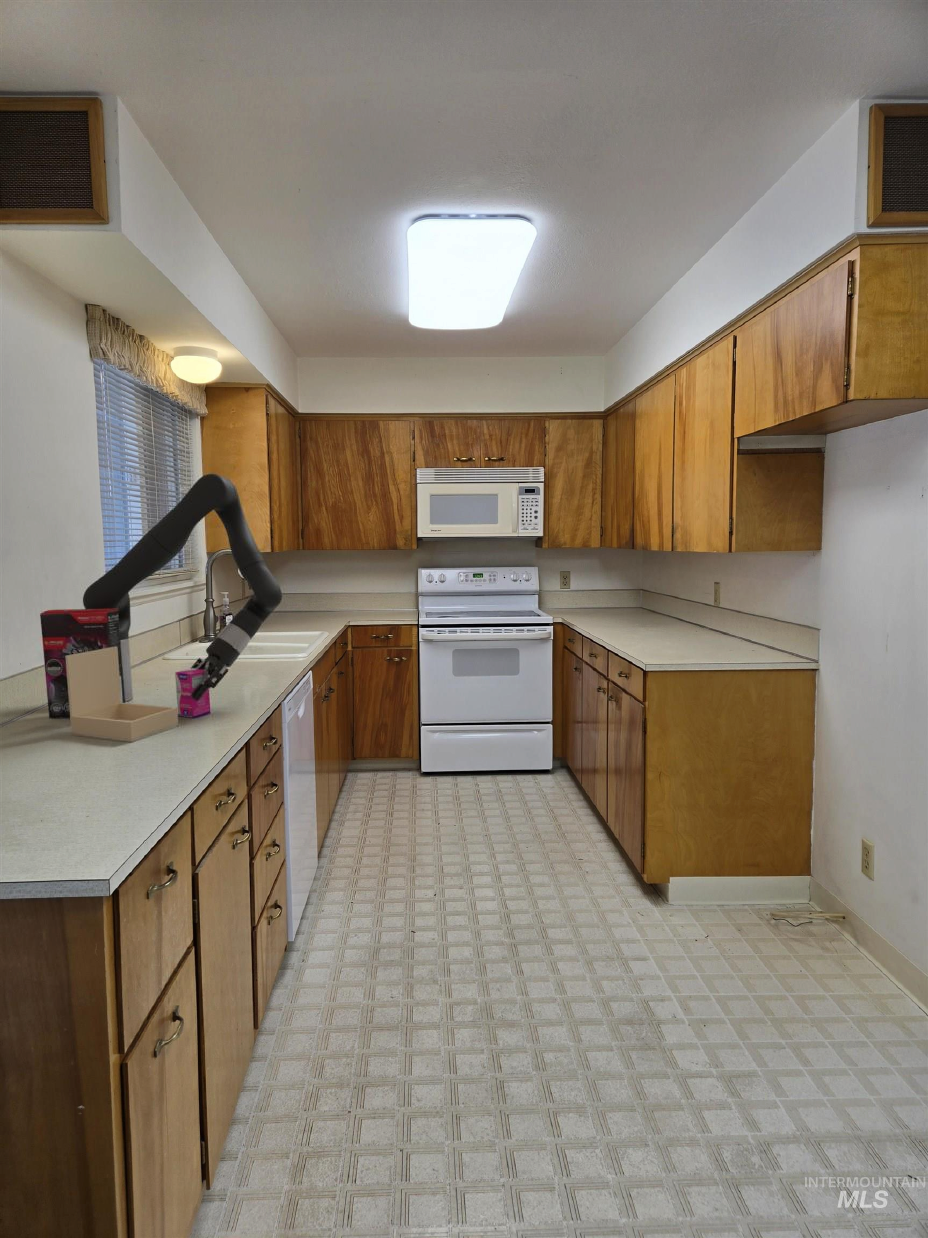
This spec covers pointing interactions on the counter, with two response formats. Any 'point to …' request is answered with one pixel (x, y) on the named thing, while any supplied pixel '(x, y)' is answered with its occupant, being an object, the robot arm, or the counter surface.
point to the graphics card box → (75, 647)
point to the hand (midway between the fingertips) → (187, 696)
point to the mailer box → (109, 701)
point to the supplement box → (184, 689)
